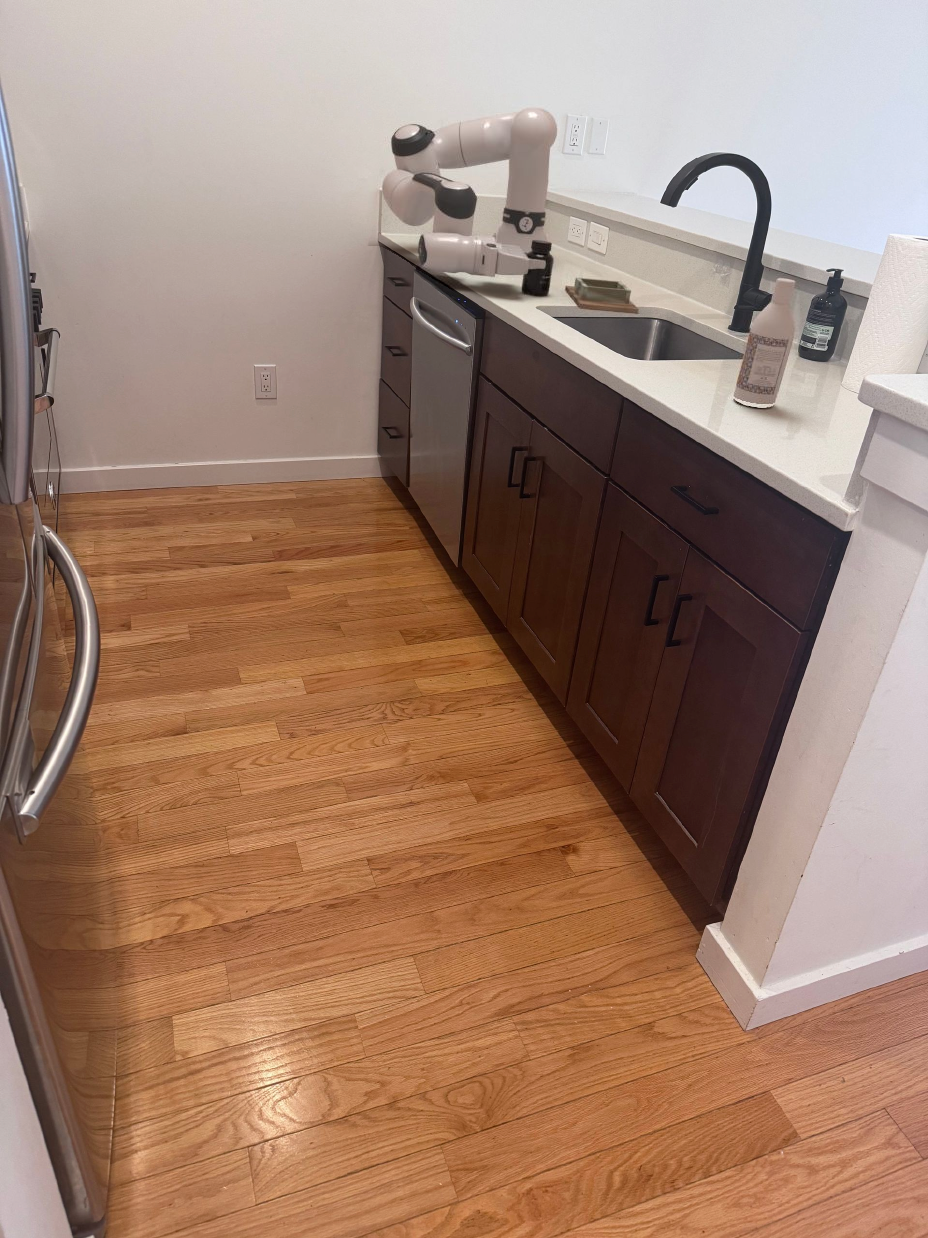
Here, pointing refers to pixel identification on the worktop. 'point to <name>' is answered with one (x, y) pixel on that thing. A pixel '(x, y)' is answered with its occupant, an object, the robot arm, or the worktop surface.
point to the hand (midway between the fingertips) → (542, 261)
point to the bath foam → (767, 348)
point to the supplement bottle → (539, 270)
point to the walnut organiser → (601, 295)
